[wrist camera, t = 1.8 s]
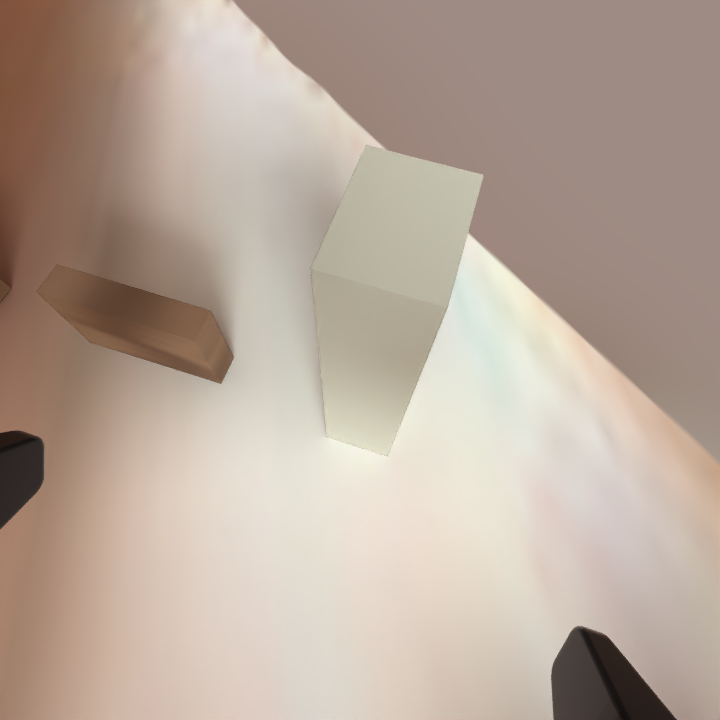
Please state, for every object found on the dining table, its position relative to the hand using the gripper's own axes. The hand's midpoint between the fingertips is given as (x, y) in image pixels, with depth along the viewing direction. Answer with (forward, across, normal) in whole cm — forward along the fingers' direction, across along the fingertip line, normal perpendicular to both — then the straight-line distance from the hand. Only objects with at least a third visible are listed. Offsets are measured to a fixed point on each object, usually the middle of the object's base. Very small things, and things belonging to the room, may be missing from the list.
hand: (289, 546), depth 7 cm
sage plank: (+14, 0, +4) cm, 15 cm away
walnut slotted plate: (+14, +17, +4) cm, 23 cm away
